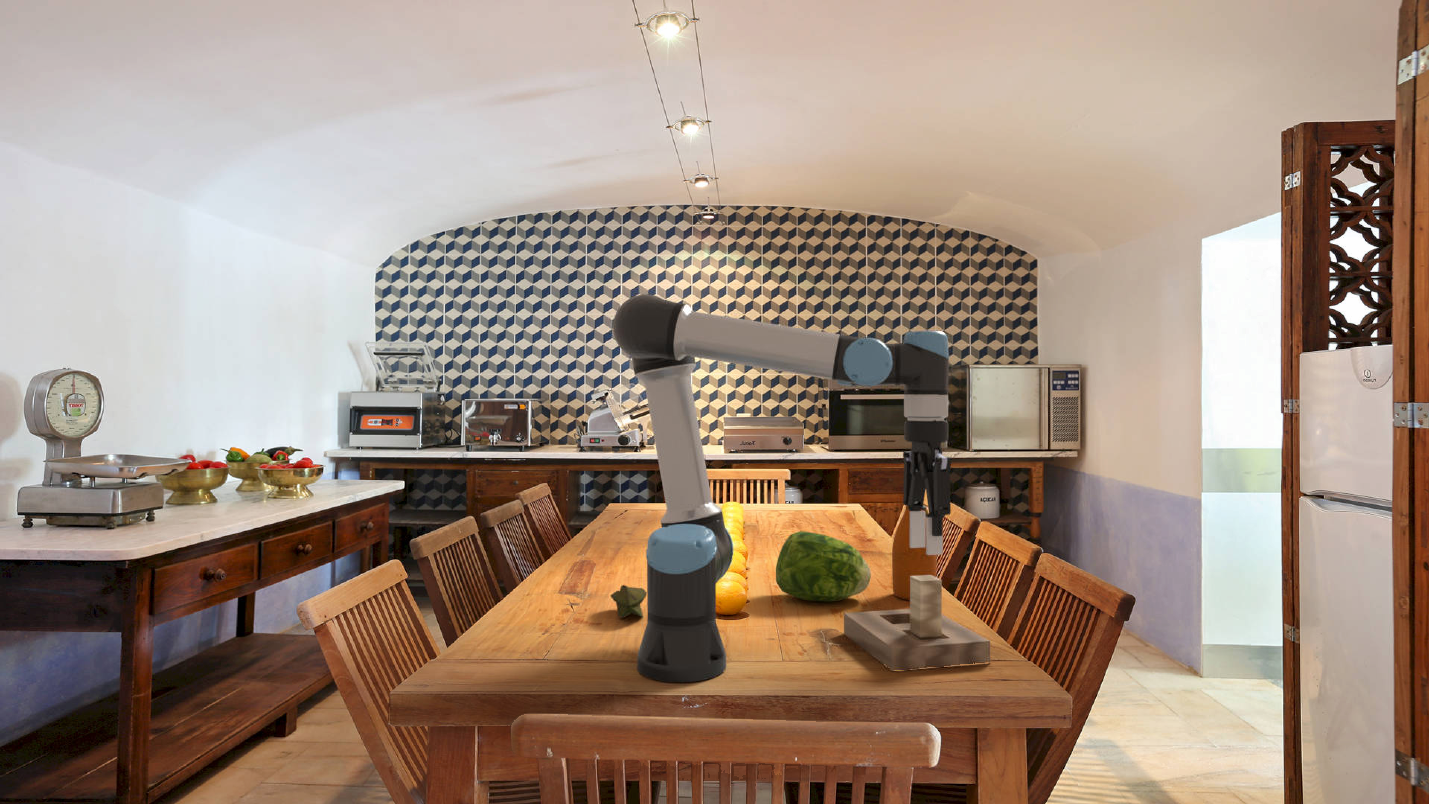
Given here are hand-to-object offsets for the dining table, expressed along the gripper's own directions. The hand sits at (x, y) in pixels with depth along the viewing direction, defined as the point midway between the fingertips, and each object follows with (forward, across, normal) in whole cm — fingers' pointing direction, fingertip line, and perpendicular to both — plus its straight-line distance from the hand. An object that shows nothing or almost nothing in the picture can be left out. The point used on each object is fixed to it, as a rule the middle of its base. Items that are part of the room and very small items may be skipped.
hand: (925, 550), depth 145 cm
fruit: (+19, +37, +48) cm, 64 cm away
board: (+19, +5, 0) cm, 19 cm away
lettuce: (+19, +41, +4) cm, 45 cm away
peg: (+19, 0, 0) cm, 19 cm away
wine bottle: (+19, +39, -17) cm, 47 cm away
